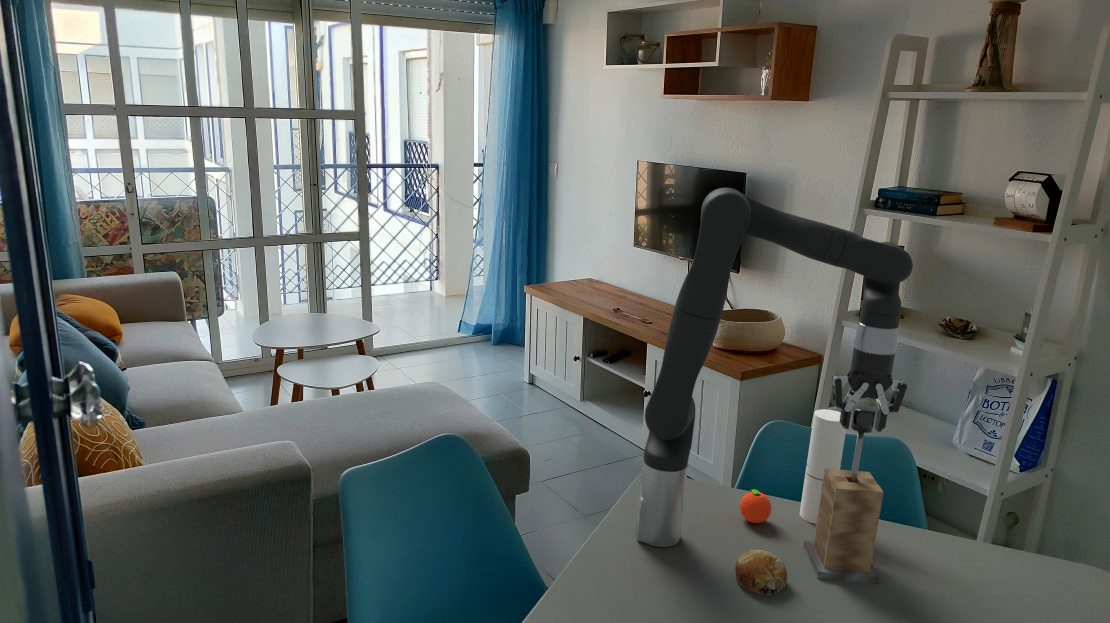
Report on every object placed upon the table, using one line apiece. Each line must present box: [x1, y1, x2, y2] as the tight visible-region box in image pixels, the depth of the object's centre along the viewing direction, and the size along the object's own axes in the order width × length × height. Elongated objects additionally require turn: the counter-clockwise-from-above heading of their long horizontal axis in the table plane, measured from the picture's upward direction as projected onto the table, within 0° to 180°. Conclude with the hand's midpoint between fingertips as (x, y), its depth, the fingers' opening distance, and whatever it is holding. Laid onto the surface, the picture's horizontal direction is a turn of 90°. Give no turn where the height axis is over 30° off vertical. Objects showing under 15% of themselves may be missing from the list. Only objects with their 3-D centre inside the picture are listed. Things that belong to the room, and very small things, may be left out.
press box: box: [803, 469, 884, 584], centre depth 162 cm, size 12×12×19 cm
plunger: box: [850, 405, 877, 483], centre depth 159 cm, size 7×7×24 cm
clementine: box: [739, 489, 772, 524], centre depth 180 cm, size 8×7×7 cm
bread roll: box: [734, 549, 788, 596], centre depth 157 cm, size 10×10×8 cm
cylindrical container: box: [799, 408, 847, 525], centre depth 181 cm, size 7×7×25 cm
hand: (861, 428), depth 157 cm, fingers open, 5 cm apart
